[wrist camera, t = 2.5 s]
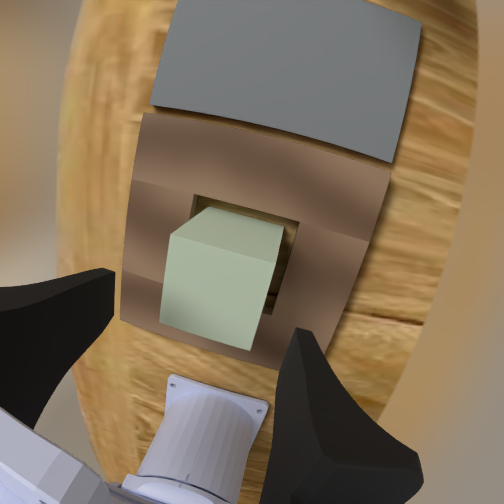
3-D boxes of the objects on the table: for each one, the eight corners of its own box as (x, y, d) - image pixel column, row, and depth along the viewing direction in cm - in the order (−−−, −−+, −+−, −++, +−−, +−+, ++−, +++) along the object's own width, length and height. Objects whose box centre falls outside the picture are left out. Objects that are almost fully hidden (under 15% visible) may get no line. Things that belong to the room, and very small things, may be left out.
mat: (389, 162, 16) (391, 163, 16) (152, 105, 17) (149, 104, 17) (419, 25, 13) (422, 22, 13) (190, -23, 14) (187, -26, 14)
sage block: (264, 293, 20) (250, 351, 15) (196, 274, 20) (159, 322, 15) (284, 226, 19) (275, 263, 13) (209, 206, 19) (170, 234, 13)
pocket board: (313, 369, 21) (312, 378, 21) (126, 313, 22) (120, 319, 21) (386, 170, 17) (391, 172, 16) (151, 113, 17) (143, 112, 16)
